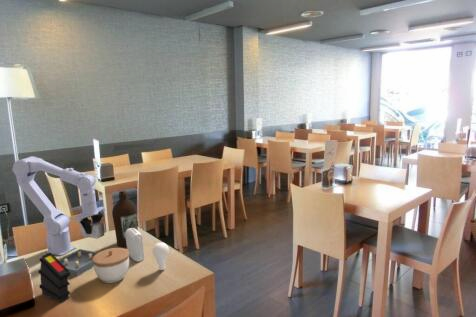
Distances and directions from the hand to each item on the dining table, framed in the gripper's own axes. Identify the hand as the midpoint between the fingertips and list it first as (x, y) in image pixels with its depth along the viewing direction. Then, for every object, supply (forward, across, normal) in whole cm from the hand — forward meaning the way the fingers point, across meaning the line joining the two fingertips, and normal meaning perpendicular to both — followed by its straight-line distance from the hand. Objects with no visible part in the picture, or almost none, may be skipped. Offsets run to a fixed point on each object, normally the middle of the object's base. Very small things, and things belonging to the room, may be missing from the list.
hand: (92, 231), depth 146 cm
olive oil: (+8, +10, -10) cm, 16 cm away
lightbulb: (+8, -5, -40) cm, 41 cm away
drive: (+2, 0, 0) cm, 2 cm away
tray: (+8, -13, -5) cm, 16 cm away
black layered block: (+8, -32, -16) cm, 37 cm away
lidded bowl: (+8, -16, -26) cm, 32 cm away
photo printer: (+8, 0, -23) cm, 24 cm away
